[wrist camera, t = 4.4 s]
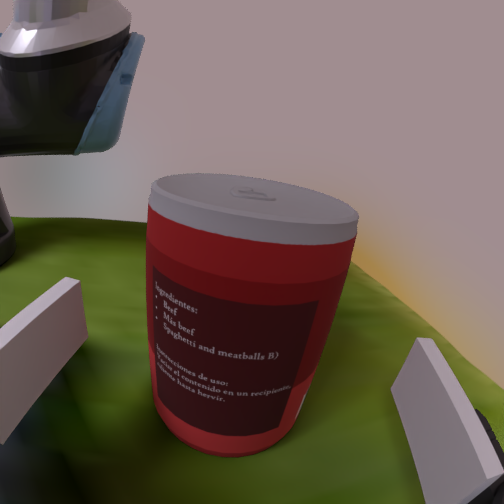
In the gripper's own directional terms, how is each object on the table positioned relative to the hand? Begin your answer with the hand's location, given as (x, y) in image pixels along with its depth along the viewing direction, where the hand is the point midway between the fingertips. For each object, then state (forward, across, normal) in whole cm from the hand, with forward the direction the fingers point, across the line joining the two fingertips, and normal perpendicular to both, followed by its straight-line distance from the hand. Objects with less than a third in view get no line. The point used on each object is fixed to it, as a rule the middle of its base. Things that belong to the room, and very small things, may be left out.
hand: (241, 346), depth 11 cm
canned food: (+2, 0, -6) cm, 6 cm away
